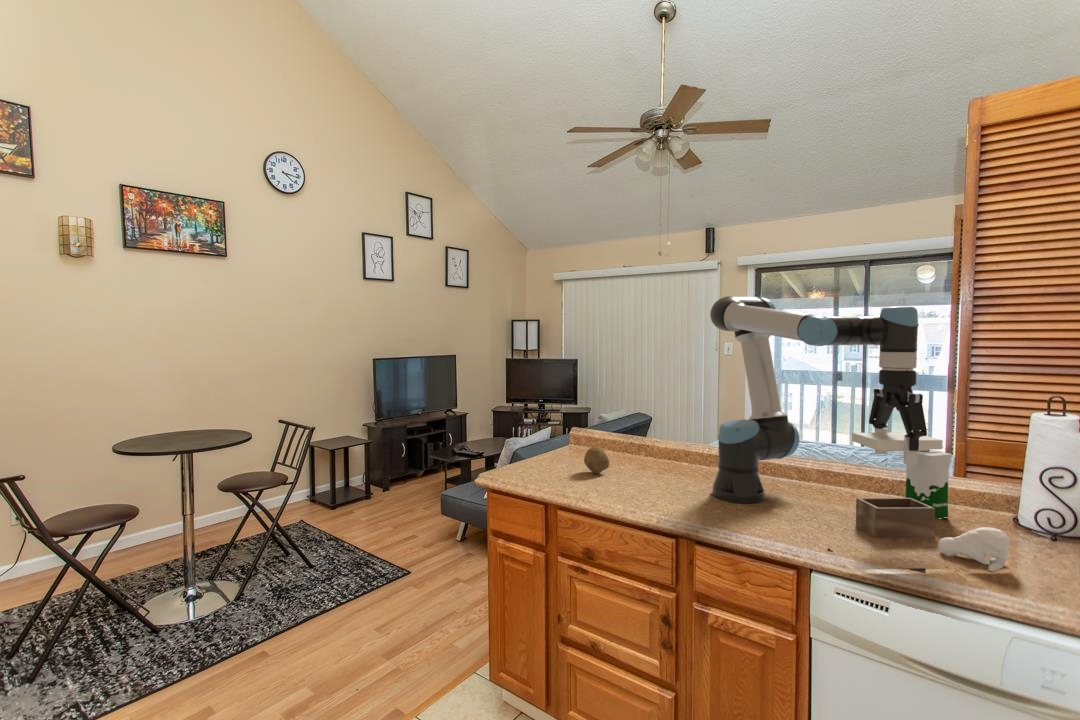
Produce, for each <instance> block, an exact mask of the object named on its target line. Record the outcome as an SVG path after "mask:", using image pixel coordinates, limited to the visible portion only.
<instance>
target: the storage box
mask: <svg viewBox="0 0 1080 720" xmlns="http://www.w3.org/2000/svg"><path fill="white" fill-rule="evenodd" d="M855 500H856V501H855V503H856V505H855V508H856V509H855V510H856V511H855V526H856V527H858V528H859V529H861V530H863V531H864V532H866V533H867V534H869V535H871V536H873V537H874V538H876V539H912V538H913V539H919V538H920V539H923V538H924V539H925V538H926V539H927V538H928V539H932V538H934V539H935V536H936V535H935V529H936V528H935V527H936V525H935V524H936V518H935V508H933V507H931V506H929V505H926V504H924V503H922V502H919V501H917V500H915V499H912V498H905V497H856V499H855Z"/></svg>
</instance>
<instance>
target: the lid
mask: <svg viewBox="0 0 1080 720" xmlns="http://www.w3.org/2000/svg"><path fill="white" fill-rule="evenodd" d="M906 434H907V433H906V431H905V432H888V433H875V432H852V433H851V439H852V440H851V441H852V442H854V443H857V444H860V445H862V446H864V447H867V448H871V449H873V450H874V451H875V450H878V451H887V452H904V435H906ZM943 441H944V440H943V439H939V438H936V437H932V436H928V435H927V436H922V437H920V438H919V450H918V451H928V449H931V450H943V447H944V446H943V445H944V443H943Z"/></svg>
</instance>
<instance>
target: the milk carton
mask: <svg viewBox="0 0 1080 720" xmlns="http://www.w3.org/2000/svg"><path fill="white" fill-rule="evenodd" d="M952 456H953V453H947V452H945V451H941V450H937V449H928V451H918V454H917V464H905V495H904V498H912V499H915V500H917V501H919V502H922V503H924V504H926V505H929V506H931V507H933V508H935V519H938V518H944V517H948V518H949V474H950V473H949V470H950V465H951V460H952Z"/></svg>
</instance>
